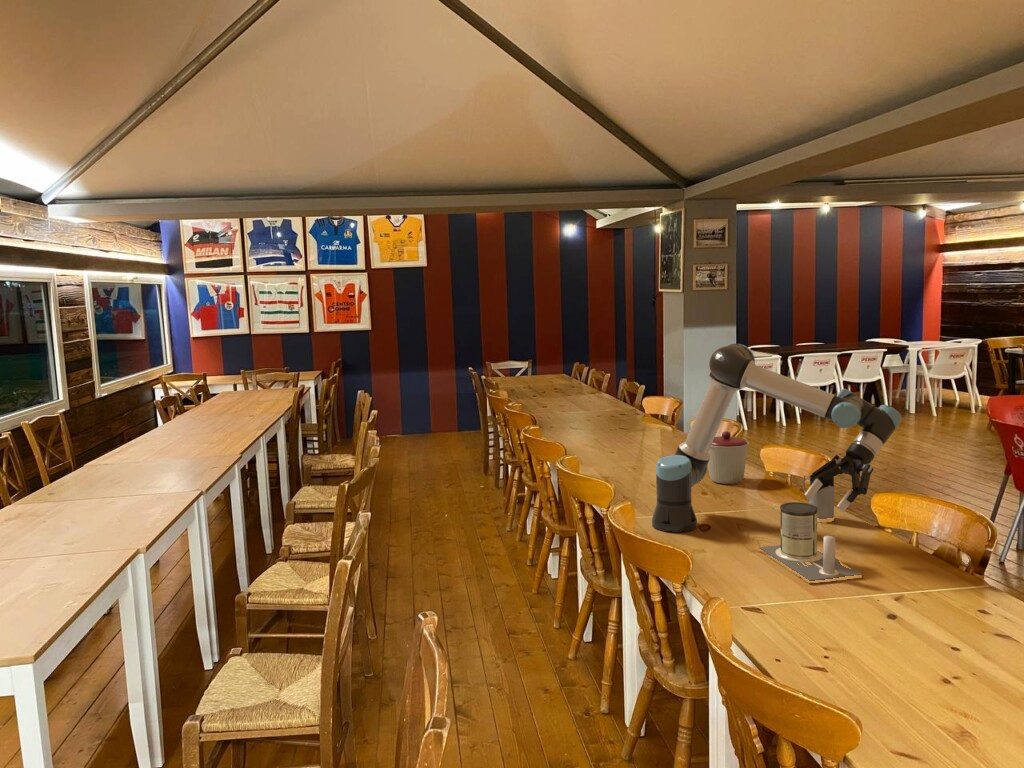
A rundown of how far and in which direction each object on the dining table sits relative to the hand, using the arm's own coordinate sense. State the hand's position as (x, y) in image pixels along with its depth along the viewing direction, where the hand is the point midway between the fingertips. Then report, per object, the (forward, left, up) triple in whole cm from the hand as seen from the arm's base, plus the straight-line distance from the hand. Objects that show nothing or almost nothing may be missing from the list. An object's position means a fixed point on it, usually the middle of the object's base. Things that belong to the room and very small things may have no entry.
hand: (823, 503), depth 224 cm
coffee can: (-11, -5, -13) cm, 18 cm away
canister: (+9, +83, -15) cm, 85 cm away
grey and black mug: (+16, +29, -14) cm, 36 cm away
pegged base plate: (-11, -10, -14) cm, 21 cm away
